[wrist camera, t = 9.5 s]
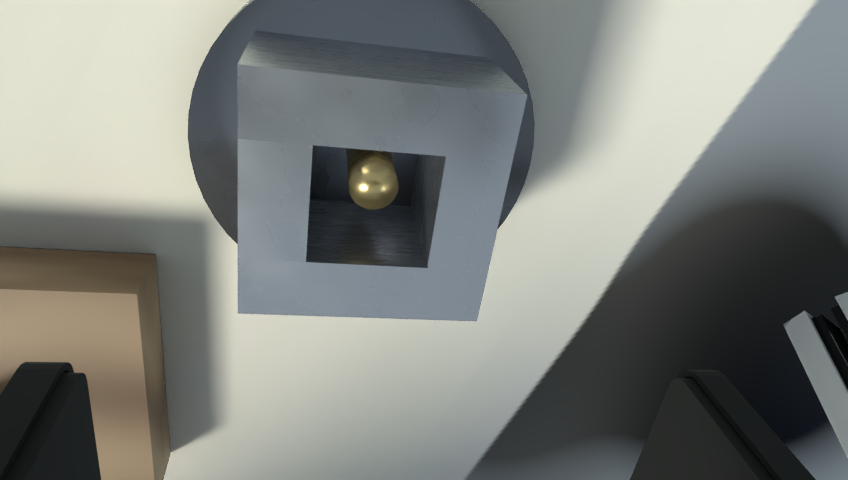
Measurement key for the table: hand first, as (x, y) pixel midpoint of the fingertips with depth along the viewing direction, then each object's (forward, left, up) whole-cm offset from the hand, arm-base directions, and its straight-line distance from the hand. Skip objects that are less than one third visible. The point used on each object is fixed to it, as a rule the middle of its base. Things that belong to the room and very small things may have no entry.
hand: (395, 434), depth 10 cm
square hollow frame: (0, 0, -12) cm, 12 cm away
